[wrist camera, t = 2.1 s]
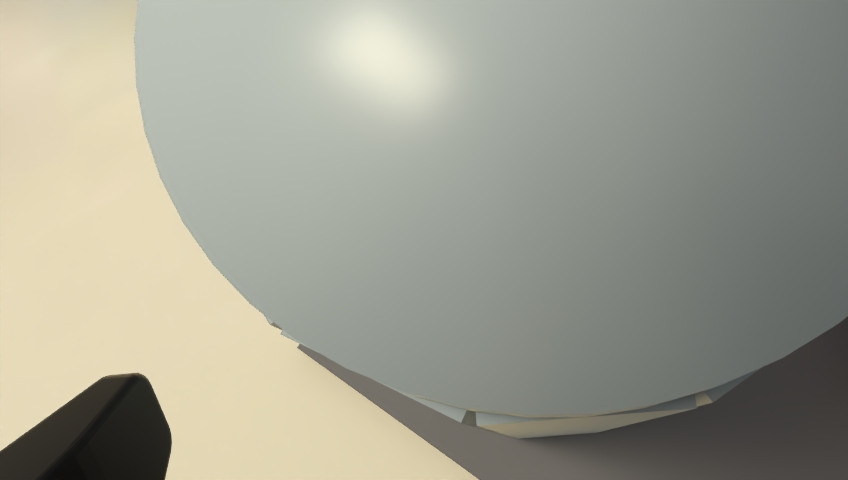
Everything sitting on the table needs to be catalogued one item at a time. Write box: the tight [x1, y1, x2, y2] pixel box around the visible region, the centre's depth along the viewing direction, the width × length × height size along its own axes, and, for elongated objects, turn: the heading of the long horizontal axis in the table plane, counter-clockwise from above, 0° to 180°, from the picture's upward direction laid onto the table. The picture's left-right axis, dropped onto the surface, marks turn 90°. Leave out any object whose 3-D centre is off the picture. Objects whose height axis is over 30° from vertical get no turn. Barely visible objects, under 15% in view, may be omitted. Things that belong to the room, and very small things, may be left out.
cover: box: [134, 0, 848, 439], centre depth 12 cm, size 7×7×12 cm
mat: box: [297, 316, 848, 480], centre depth 18 cm, size 13×15×1 cm
